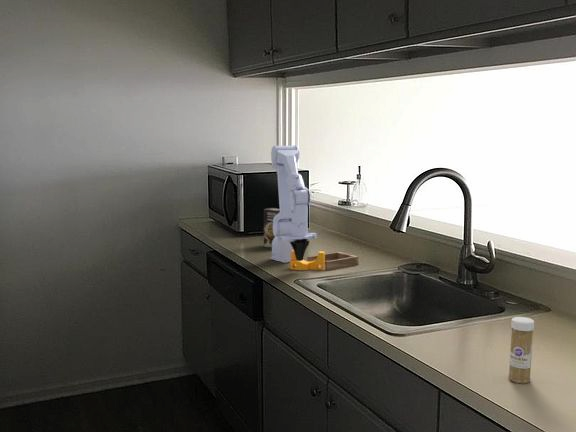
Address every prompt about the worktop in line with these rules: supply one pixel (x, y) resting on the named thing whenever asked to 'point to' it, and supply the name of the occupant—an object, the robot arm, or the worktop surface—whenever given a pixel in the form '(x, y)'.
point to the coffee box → (269, 225)
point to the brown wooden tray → (336, 260)
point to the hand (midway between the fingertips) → (299, 260)
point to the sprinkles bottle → (521, 349)
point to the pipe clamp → (308, 265)
